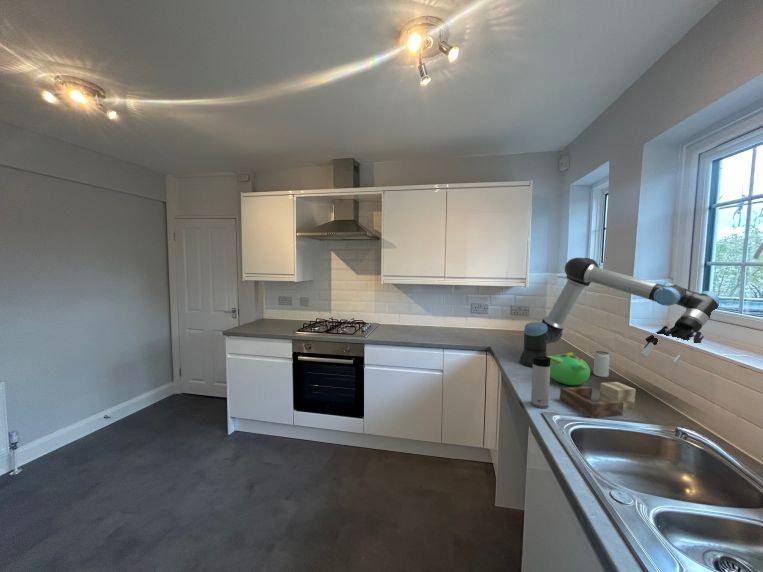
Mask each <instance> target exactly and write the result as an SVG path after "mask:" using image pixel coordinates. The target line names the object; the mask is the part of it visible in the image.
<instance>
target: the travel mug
mask: <svg viewBox="0 0 763 572" xmlns="http://www.w3.org/2000/svg"><path fill="white" fill-rule="evenodd" d="M550 360H551V358H549V357H543V356H537V357H533V367H532V373H531V374H532V377H531V393H530V394H531V396H530V404H531V405H532V406H533V407H534V408H539V409H547V408H549V400H550V383H551V382H550V380H551V376H550Z"/></svg>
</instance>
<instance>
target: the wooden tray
mask: <svg viewBox="0 0 763 572" xmlns="http://www.w3.org/2000/svg"><path fill="white" fill-rule="evenodd" d="M592 393H593V388H592V387H591V386H588V385H587V386H572V387H571V386H570V387H560V390H559V400H560V401H561V402H563V403H565V404H567V405H568V406H570V407H572V408H573V409H575V410H577V411H579V412H580V413H583V414H585V415H586V416H587V417H590V418H591V419H593V418H594V419H596V418H608V417H618V416H623V414H624V410H623V402H622V401H619V400H614V401H601V402H600V401H591V400H592V395H593V394H592Z"/></svg>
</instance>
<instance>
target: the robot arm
mask: <svg viewBox="0 0 763 572" xmlns="http://www.w3.org/2000/svg"><path fill="white" fill-rule="evenodd" d="M564 273H565V275H566V277H565V278H566V280H567V281H566V283H565V285H564V287H563V288H562V290H561V292H560V294H559V296H558V297H557V299H556V301H555V303H554V305H553V306H552V308H551V310H550V312H549V313H548V315H547V316H544V317H543V318H542V320H541V322H539V321H537V322H536V321H535V322H528V323H526V324H525V325H524V329H523V337H524V338H523V351H522V353H521V355H520V358H519V364H521V365H523V366H526V367H529V368H533V357H537V356H543V357H547V356H548V353H547V349H548V348H547V346H548V345H549V344H552V343H556V342H558V341H559V340H560V339H562V337H563V333H564V332H563V330H564V328H565V326H564V323H565V321H566V319H567V317H568V316H569V314H570V312H571V310H572V309H573V307H574V306H575V304H576V302H577V300H578V299H579V296H580V295H581V293H582V292H583V290H584V289H585V288H587V287H589V286H590V284H591V283H595V284H597V285H600V286H604V287H606V288H610V289H613V290H617V291H621V292H624V293H627V294H630V295H633V296H637V297H640V298H644V299H647V300H650V301H652V302H656V303H657V304H658V305H661V306H666V307H667V306H668V307H669V306H674V305H676V306H677V305H678V306H681V307H683V308H685V309H686V310H685V311H684V312H683V313H682V314H681V316H680V317H679V318H678V319H677V320H676V321H675V322H674V326H673V327H668V326H667V325H663V326H662V328H661V329H659V330H657V331H656V332H655V333H657V334H664V335H666V336H672V337H677V338H681V339H683V341H684V340H687V341H688V340H690V341H691V339H692V338H693V340H692V341H693V342H694V343H701V344H702V340H703V338H704V335H703V334H702V332H701V331H700V330H701V329H702V328H703V326H705V324H706V323H707V322H708V321H709V320H710V319H711V317H710V315H711V312H712V311H713V310H715V309H717V308H718V306H719V297H718V294H719V293H717V292H715V291H712V290H711V291H710V290H704V291H701V293H699V292H696V291H692V290H690V289H687V288H684V287H682V286H679V285H677V284H673V283H670V282H664V284H660V283H656V282H653V281H649V280H645V279H641V278H638V277H634V276H630V275H627V274H625V273H624V274H623V273H621V272H616V271H612V270H609V269H605V268H603V267H602V268H601V266H600V264H599V262H598V261H597V260H595V259H593V258H590V257H574V258H571V259H569V260H568V261H567V262H566V264H565V265H564ZM718 309H719V308H718ZM645 341H646V344H645V346H643V347H644V348H643V349H642V351H641V352H640V354H641V356H643V358H647V357H648V356H649V355H650V354H651V352H653V350H654V349H655V348H656V345H658V344H657V342H658V339H657V338H654V336H653V335H652V334H651V335H649V336H648V337H645ZM693 342H692V343H693ZM679 360H680V355H679V354H678V355H676V357H675V358H674V360H673V361H672V363H673V364H674V365H675V367H676V368H677V367H678V368H679V367H680V365H679Z"/></svg>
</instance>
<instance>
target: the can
mask: <svg viewBox="0 0 763 572" xmlns="http://www.w3.org/2000/svg"><path fill="white" fill-rule="evenodd" d="M610 361H611V359H610V354H609V352H606V351H601V350H596V351H595V353H594V355H593V374H594V376H596V377H601V378H608V377H609V375H610V373H609V372H610Z"/></svg>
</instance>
